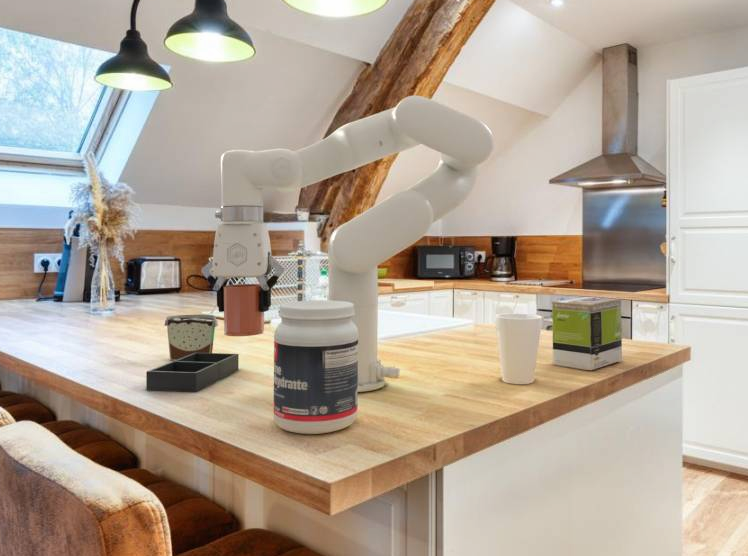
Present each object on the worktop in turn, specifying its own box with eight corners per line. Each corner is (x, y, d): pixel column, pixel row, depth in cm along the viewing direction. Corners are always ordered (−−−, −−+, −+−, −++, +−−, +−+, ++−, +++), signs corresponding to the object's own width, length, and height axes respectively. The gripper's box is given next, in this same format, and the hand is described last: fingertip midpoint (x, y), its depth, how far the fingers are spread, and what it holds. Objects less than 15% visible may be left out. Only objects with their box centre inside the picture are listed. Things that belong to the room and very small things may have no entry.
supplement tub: (255, 425, 93) (256, 304, 93) (319, 407, 103) (320, 298, 103) (311, 443, 85) (312, 311, 85) (375, 422, 95) (376, 303, 95)
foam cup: (488, 383, 122) (489, 317, 122) (500, 373, 130) (501, 312, 130) (536, 387, 118) (537, 320, 118) (545, 378, 127) (546, 314, 127)
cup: (269, 330, 119) (268, 283, 119) (255, 336, 112) (254, 287, 112) (234, 330, 120) (233, 284, 120) (217, 336, 113) (216, 287, 112)
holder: (195, 368, 133) (195, 352, 133) (238, 370, 132) (238, 353, 132) (146, 390, 114) (146, 371, 114) (196, 392, 113) (196, 373, 113)
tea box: (584, 356, 151) (584, 295, 151) (623, 362, 144) (623, 298, 144) (550, 364, 140) (551, 299, 140) (591, 371, 133) (591, 303, 133)
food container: (226, 356, 146) (226, 314, 146) (215, 361, 140) (215, 318, 140) (177, 355, 148) (177, 313, 148) (164, 360, 142) (164, 316, 142)
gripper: (189, 217, 113) (190, 313, 113) (280, 215, 111) (282, 313, 111) (207, 218, 120) (209, 308, 120) (293, 216, 118) (295, 308, 118)
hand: (244, 310), depth 116 cm, fingers closed on cup, 7 cm apart
